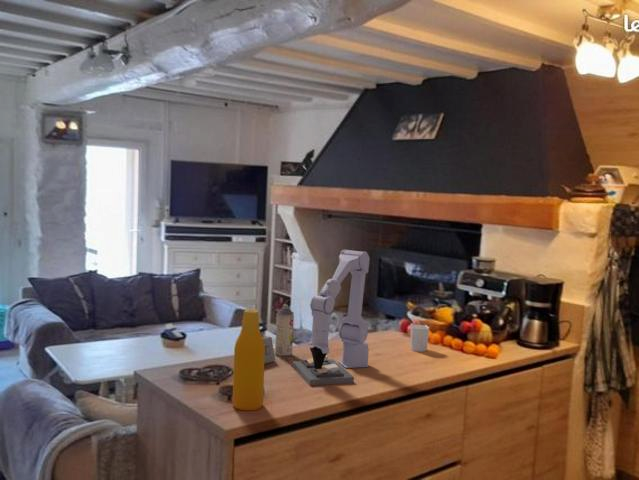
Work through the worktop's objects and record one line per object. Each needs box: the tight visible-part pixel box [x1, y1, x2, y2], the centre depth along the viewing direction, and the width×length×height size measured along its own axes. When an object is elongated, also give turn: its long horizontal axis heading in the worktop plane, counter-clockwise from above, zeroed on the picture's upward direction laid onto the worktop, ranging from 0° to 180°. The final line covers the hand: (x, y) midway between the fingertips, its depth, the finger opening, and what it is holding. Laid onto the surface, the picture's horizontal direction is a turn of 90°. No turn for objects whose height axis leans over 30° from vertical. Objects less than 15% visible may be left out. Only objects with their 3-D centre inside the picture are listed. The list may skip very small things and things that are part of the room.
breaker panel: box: [291, 358, 355, 386], centre depth 214 cm, size 16×22×4 cm
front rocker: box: [316, 364, 339, 374], centre depth 208 cm, size 7×4×2 cm, turn 108°
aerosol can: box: [274, 304, 295, 358], centre depth 236 cm, size 7×7×20 cm
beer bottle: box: [231, 309, 265, 411], centre depth 179 cm, size 9×9×29 cm
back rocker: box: [306, 354, 329, 365], centre depth 219 cm, size 7×4×2 cm, turn 109°
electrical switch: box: [262, 336, 276, 365], centre depth 225 cm, size 9×5×9 cm, turn 141°
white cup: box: [410, 324, 430, 353], centre depth 253 cm, size 8×8×10 cm
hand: (317, 368), depth 207 cm, fingers closed, pressing on front rocker
